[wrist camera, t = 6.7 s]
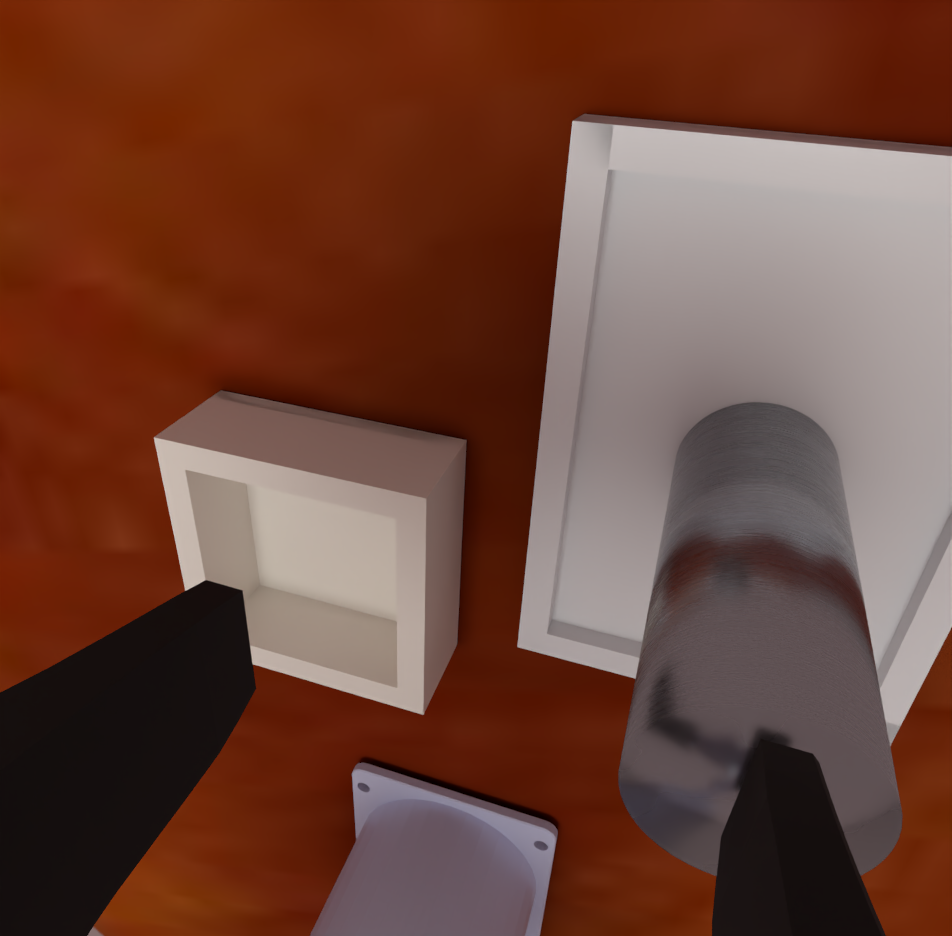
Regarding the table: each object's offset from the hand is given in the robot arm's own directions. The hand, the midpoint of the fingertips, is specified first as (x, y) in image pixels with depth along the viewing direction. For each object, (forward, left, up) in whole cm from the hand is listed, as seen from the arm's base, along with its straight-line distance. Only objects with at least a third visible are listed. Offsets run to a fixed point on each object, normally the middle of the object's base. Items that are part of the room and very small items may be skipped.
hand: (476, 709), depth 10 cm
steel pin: (-1, -4, -10) cm, 10 cm away
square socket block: (-6, +7, -10) cm, 14 cm away
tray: (-1, -4, -10) cm, 11 cm away
